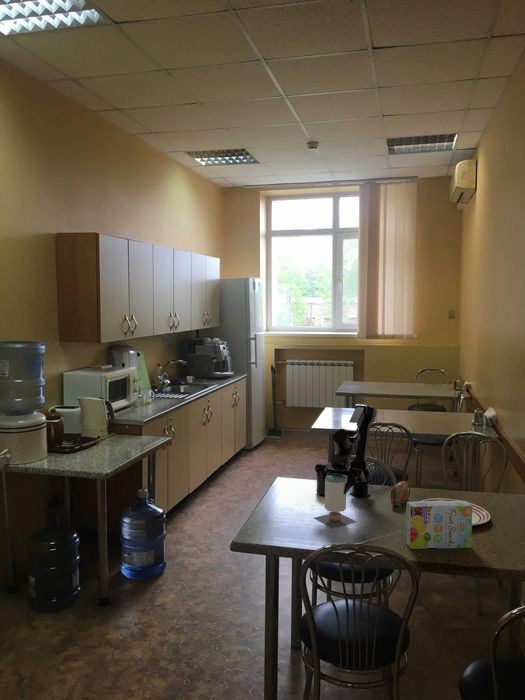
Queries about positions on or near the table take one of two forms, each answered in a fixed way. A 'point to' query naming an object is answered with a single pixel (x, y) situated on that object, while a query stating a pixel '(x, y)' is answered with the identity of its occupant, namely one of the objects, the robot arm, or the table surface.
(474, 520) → the dinner plate
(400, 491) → the tin
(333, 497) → the white canister
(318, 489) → the supplement container
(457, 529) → the snack box
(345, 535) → the table surface
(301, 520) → the table surface
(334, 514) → the brown pebble
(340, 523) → the mat
